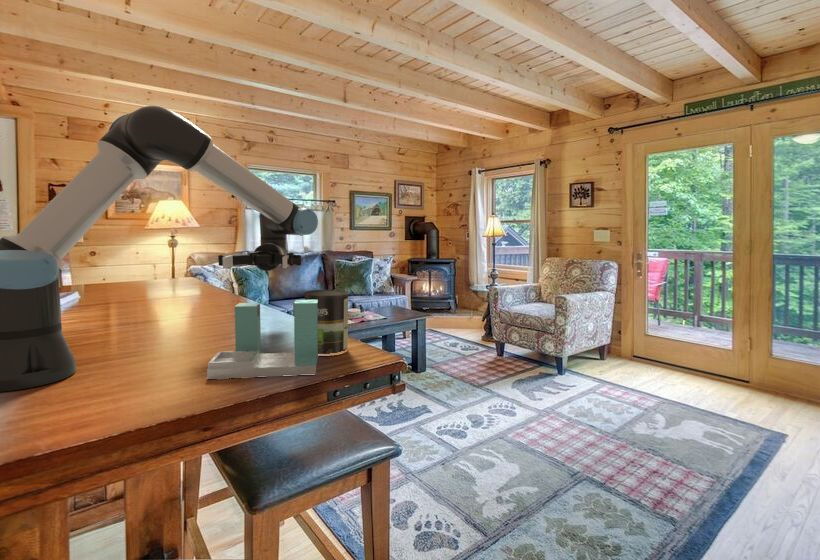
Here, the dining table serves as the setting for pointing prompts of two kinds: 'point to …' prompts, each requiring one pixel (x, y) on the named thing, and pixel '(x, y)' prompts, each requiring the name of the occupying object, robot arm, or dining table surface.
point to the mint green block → (247, 327)
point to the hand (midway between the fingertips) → (254, 262)
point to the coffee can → (331, 319)
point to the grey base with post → (275, 363)
